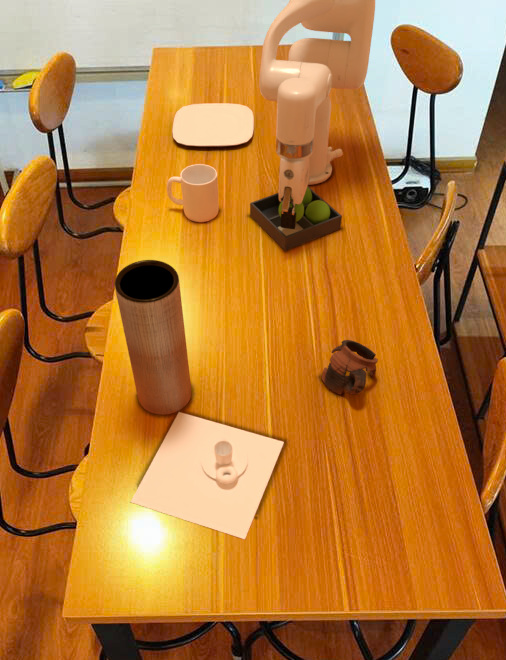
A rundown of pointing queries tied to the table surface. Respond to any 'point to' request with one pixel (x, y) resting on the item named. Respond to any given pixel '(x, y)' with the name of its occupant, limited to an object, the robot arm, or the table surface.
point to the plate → (213, 125)
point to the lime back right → (317, 212)
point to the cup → (197, 192)
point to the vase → (155, 334)
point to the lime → (298, 210)
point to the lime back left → (307, 197)
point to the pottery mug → (349, 368)
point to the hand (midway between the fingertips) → (290, 218)
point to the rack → (304, 230)
